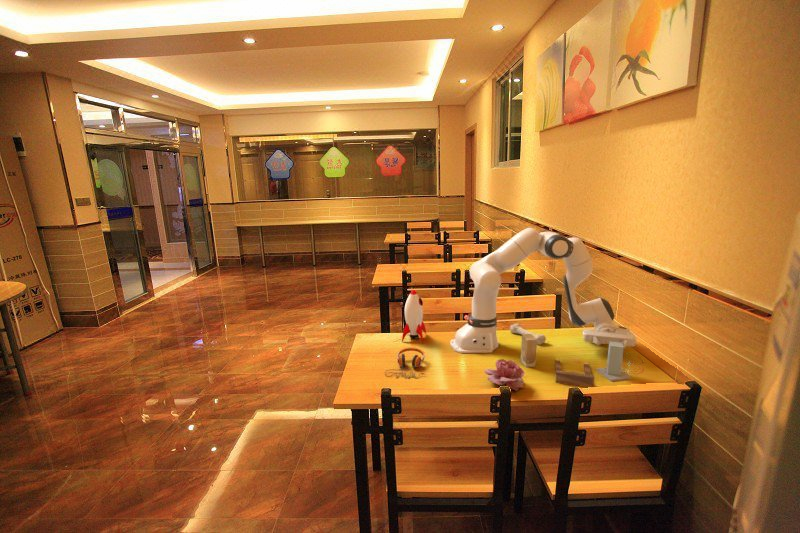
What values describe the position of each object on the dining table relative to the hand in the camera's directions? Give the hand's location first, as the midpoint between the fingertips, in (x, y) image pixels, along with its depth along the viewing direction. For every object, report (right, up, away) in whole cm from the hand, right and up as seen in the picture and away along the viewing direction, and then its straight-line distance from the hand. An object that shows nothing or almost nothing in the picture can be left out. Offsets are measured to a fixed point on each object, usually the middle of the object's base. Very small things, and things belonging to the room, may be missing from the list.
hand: (610, 344), depth 169 cm
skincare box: (-34, -9, +2) cm, 35 cm away
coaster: (-4, -10, -9) cm, 14 cm away
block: (-4, -9, -10) cm, 14 cm away
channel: (-19, -10, -8) cm, 23 cm away
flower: (-48, -13, -16) cm, 52 cm away
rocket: (-81, -3, +32) cm, 87 cm away
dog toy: (-26, -3, +29) cm, 39 cm away
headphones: (-85, -10, +1) cm, 85 cm away
